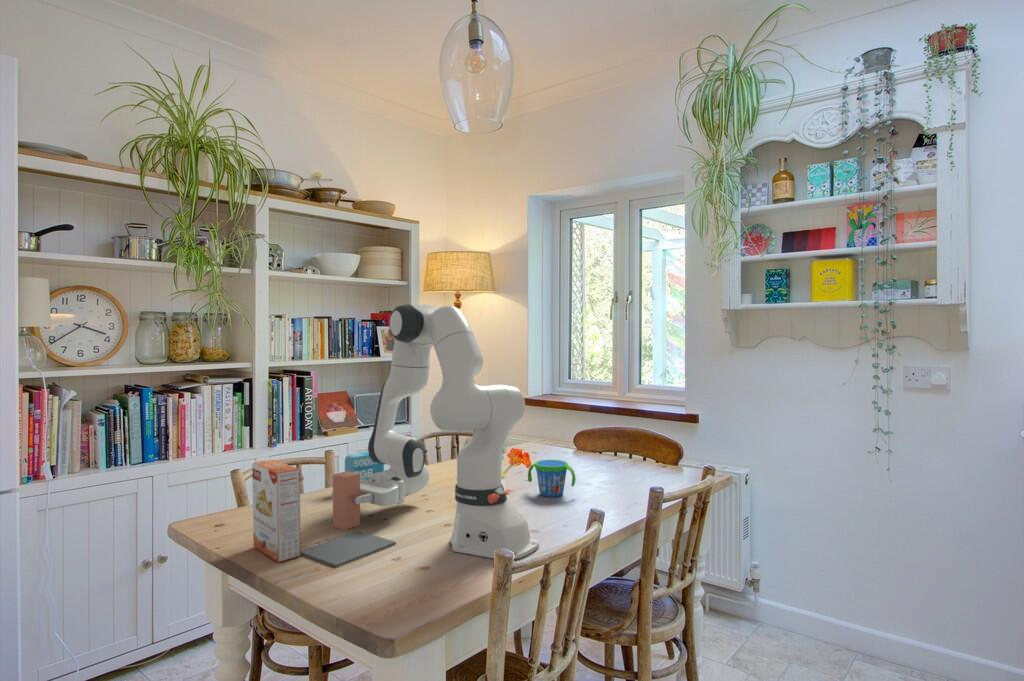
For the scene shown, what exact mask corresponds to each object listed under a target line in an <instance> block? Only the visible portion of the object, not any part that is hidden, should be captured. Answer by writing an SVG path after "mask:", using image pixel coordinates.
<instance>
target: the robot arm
mask: <svg viewBox="0 0 1024 681" xmlns="http://www.w3.org/2000/svg"><path fill="white" fill-rule="evenodd" d="M389 316H390V317H389V319H388V325H389V326H388V327H389V331H390V334H391V336H392V337H393V339H394V344H393V349H392V355H391V365H390V366H391V367H390V368H391V369H390V373H389V376H388V379H387V380H386V381H384V383H383V385H382V386H381V391H380V395H379V399H378V403H377V409H376V415H375V419H374V420H375V421H374V425H373V429H372V433H371V436H370V438H369V441H368V443H367V444H368V445H367V452H369V455H370V458H371V459H372V460H373V461H374V462H376V463H380V464H384V465H387V466H389V469H386V470H385V469H384V471H381V472H377V473H374V474H373V475H372V476H371V477H370V479H369V481H368V480H363V479H360V496H355V497H353V503H355V504H360V505H361V504H371V505H376V506H380V507H388V506H392V505H401V504H403V503H404V502H405V497H408V496H411V495H414V494H417V493H418V492H420V491H422V490H423V489H424V488H426V486H427V485H428V483H429V481H430V471H429V469H428V467H427V465H426V464H425V461H426V460H425V459H426V458H425V455H426V450H425V447H424V444H423V442H422V441H421V439H419V438H415V437H412V436H409V435H405V434H400V433H397V432H396V431H395V429H394V428H395V422H396V419H397V418H396V417H397V413H398V406H399V404H400V403H401V401H402V400H403V399H405V398H407V397H412V396H414V395H417V394H419V393H420V392H422V391H423V389H424V388H425V387H426V386H427V384H428V380H429V376H430V362H431V361H430V358H431V350H432V348H434V351H435V354H436V357H437V360H438V363H439V366H440V370H441V374H442V383H441V387H440V389H439V390H438V391H437V392H436V393H435V395H434V397H433V399H432V400H431V404H430V408H429V409H430V417H431V419H432V422H433V423H434V424H435V426H436V427H437V429H439V430H441V431H443V432H444V431H445V432H454V433H464V432H471V431H474V432H473V435H472V437H471V438H470V441H469V442H468V443H466V444H465V445H464V446H463V447H462V448H461V449H459V451H458V454H457V457H456V484H455V486H454V500H455V501H456V502H455V504H456V505H455V507H456V508H455V517H454V522H453V528H452V533H451V537H450V544H451V545H452V546H451V551H452V552H454V553H455V552H456V553H461V554H468V555H472V556H477V557H484V558H490V559H494V553H495V551H496V550H497V549H501V548H505V549H508V550H510V551H512V552H514V555H515V559H514V560H517V559H521V558H524V557H525V556H528V555H530V554H532V553H533V552H535V551H536V550H537V549H538V548H539V546H540V544H539V543H540V542H539V540H538V539H535V538H533V537H530V536H531V535H530V529H529V523H528V521H527V519H526V517H524V516H523V515H522V514H521V513H520V512H519V511H518V510H517V509H516V508H514V506H513V505H512V504H511V503H510V502H509V501H508V500H507V499H508V498H507V495H511V492H510V491H511V489H507V490H505V489H504V485H503V483H502V461H503V454H504V449H505V446H506V442H507V440H508V437H509V435H510V433H511V432H512V429H513V428H514V427H515V426H516V425H517V423H519V422H520V421H521V420H522V418H523V416H524V413H525V411H526V400H525V397H524V395H523V394H522V392H521V390H520V389H519V388H518V387H516V386H511V385H506V384H501V383H500V384H483V385H481V384H479V385H478V384H477V383H476V382H475V379H474V378H475V377H476V376H477V375H478V374H479V373H480V371H481V370H482V369H483V366H484V357H483V354H482V352H481V349H480V347H479V344H478V341H477V339H476V336H475V334H474V332H473V329H472V328H471V326H470V323H469V322H468V320H467V319H466V316H465V315H464V314H463V313H462V311H461V310H460V309H459V308H458V307H456V306H453V305H444V306H437V305H431V304H412V305H411V304H408V303H407V304H401V305H397V306H396V307H394V309H393V310H392V312H391V314H390V315H389ZM331 498H332V499H333V491H332V492H331Z"/></svg>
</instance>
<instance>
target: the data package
mask: <svg viewBox="0 0 1024 681" xmlns="http://www.w3.org/2000/svg"><path fill="white" fill-rule="evenodd" d="M384 466H385V464H380V463H376V462H374V461H373V460H372V459H371V458H370V455H369V452H368V451H365V452H359V453H358V452H357V453H352V454H351V453H350V454H348V455H346V456H345V459H344V472H346V471H350V472H355V473H359V474H360V479H363V480H368V481H369V479H370V477H371V476H372V475H373V474H374V473H377V472H381V471H385V468H384Z"/></svg>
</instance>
